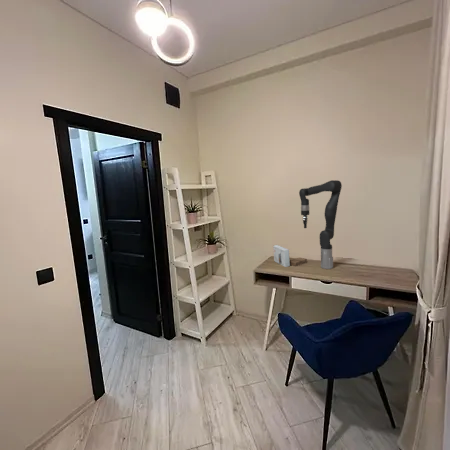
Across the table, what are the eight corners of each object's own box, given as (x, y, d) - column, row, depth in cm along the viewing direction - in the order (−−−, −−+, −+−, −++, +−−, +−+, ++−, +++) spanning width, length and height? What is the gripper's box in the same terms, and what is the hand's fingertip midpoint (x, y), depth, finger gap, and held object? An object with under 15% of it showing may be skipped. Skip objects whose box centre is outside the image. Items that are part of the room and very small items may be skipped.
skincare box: (273, 261, 251) (273, 245, 249) (278, 260, 253) (278, 244, 251) (284, 267, 231) (284, 250, 229) (290, 266, 233) (289, 249, 231)
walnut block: (295, 262, 231) (306, 259, 240) (288, 260, 237) (299, 257, 247) (295, 266, 231) (306, 263, 241) (288, 265, 238) (299, 261, 247)
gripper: (308, 210, 232) (308, 229, 235) (310, 209, 244) (310, 227, 246) (299, 210, 235) (300, 229, 238) (302, 209, 247) (302, 226, 250)
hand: (305, 228), depth 242 cm, fingers closed
